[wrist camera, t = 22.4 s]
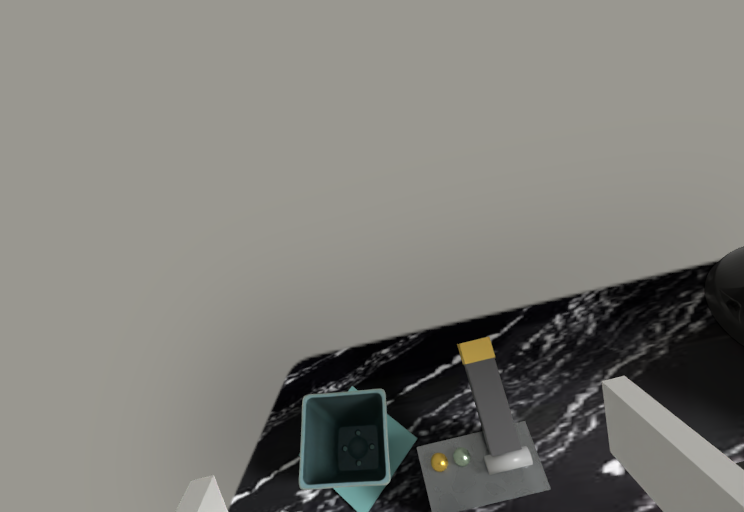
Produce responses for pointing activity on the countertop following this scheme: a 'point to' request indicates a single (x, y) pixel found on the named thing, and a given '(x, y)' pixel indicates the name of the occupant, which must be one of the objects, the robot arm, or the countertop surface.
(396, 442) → the pad
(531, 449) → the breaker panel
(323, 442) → the flower pot
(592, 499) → the countertop surface
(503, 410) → the lever
